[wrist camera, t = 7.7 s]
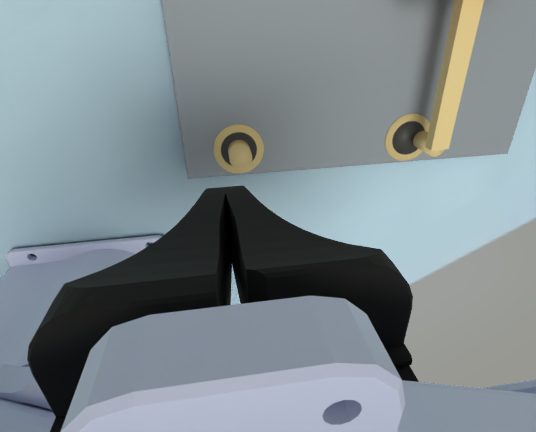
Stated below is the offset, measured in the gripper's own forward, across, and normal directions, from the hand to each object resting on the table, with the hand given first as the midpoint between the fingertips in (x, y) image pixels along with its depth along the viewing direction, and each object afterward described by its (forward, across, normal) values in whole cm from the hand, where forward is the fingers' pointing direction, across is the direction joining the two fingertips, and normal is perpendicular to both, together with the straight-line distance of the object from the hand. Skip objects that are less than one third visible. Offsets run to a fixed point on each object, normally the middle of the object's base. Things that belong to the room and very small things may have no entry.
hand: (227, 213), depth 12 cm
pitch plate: (+9, -8, -5) cm, 13 cm away
